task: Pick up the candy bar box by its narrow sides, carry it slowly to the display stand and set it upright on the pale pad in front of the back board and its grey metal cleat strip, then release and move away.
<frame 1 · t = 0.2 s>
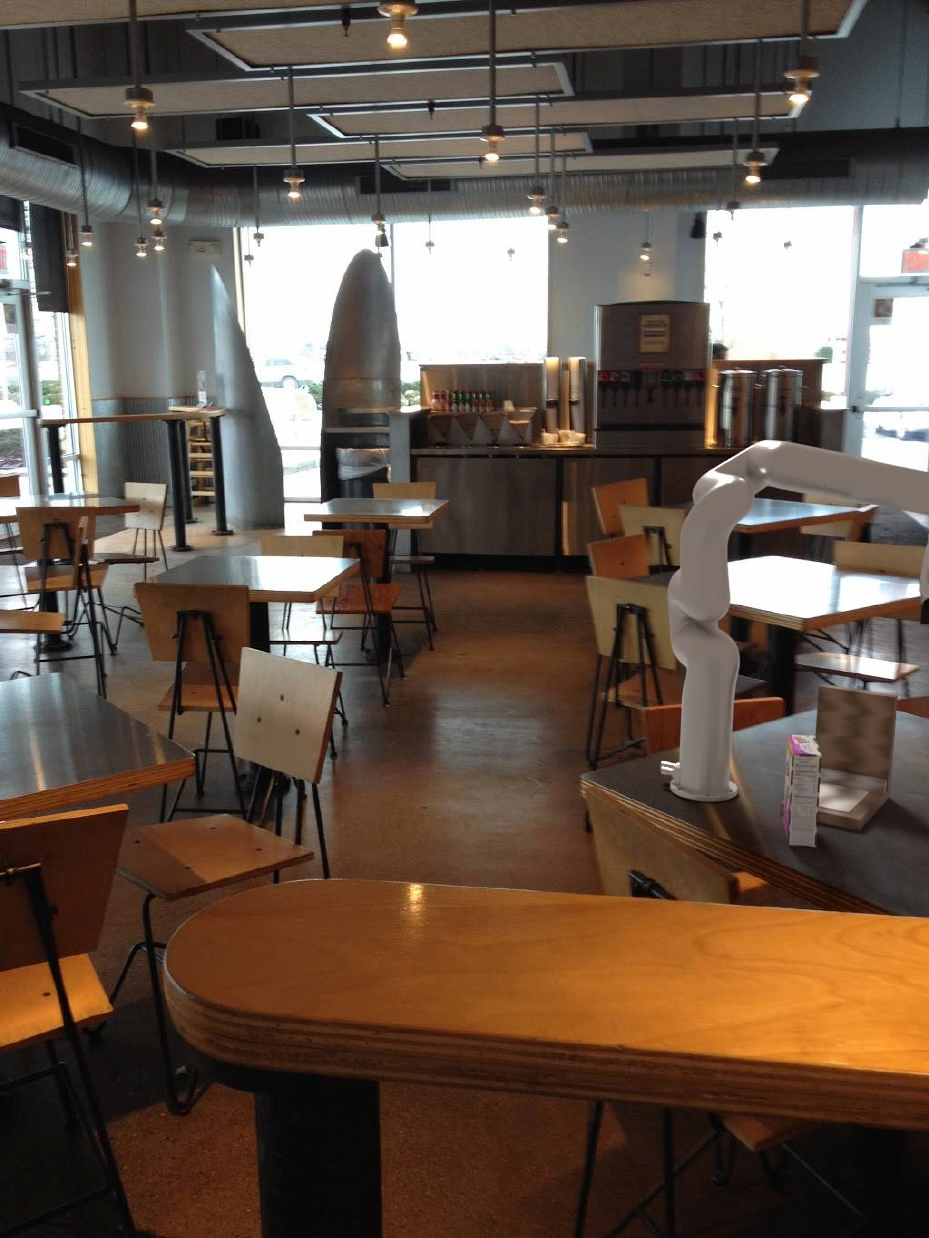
display stand: (835, 805, 204), on the table
candy bar box: (798, 836, 190), on the table
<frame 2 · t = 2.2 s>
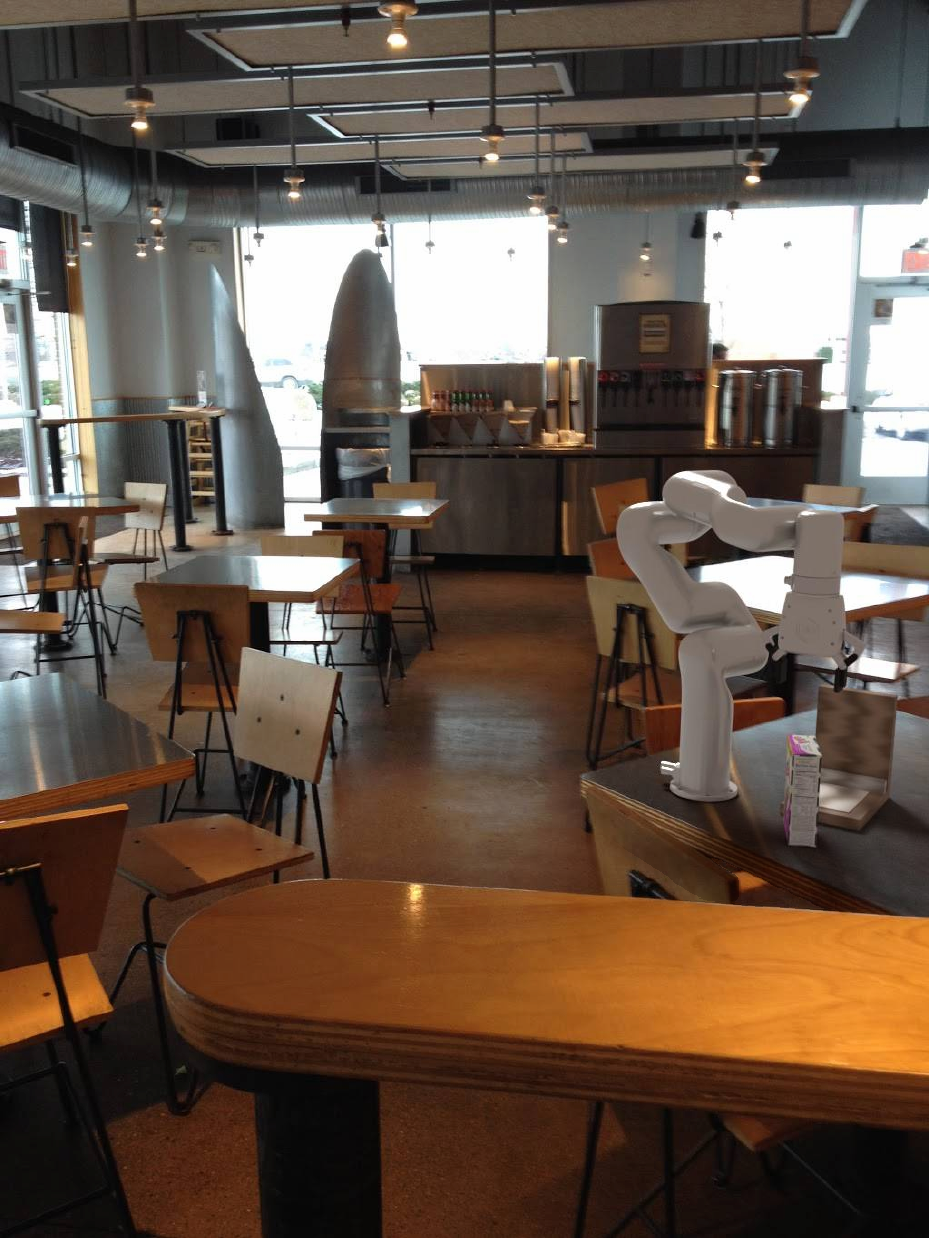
hand: (809, 686, 185), 26 cm above the table, tool pointing down, fingers open, 9 cm apart
nothing on the table moved.
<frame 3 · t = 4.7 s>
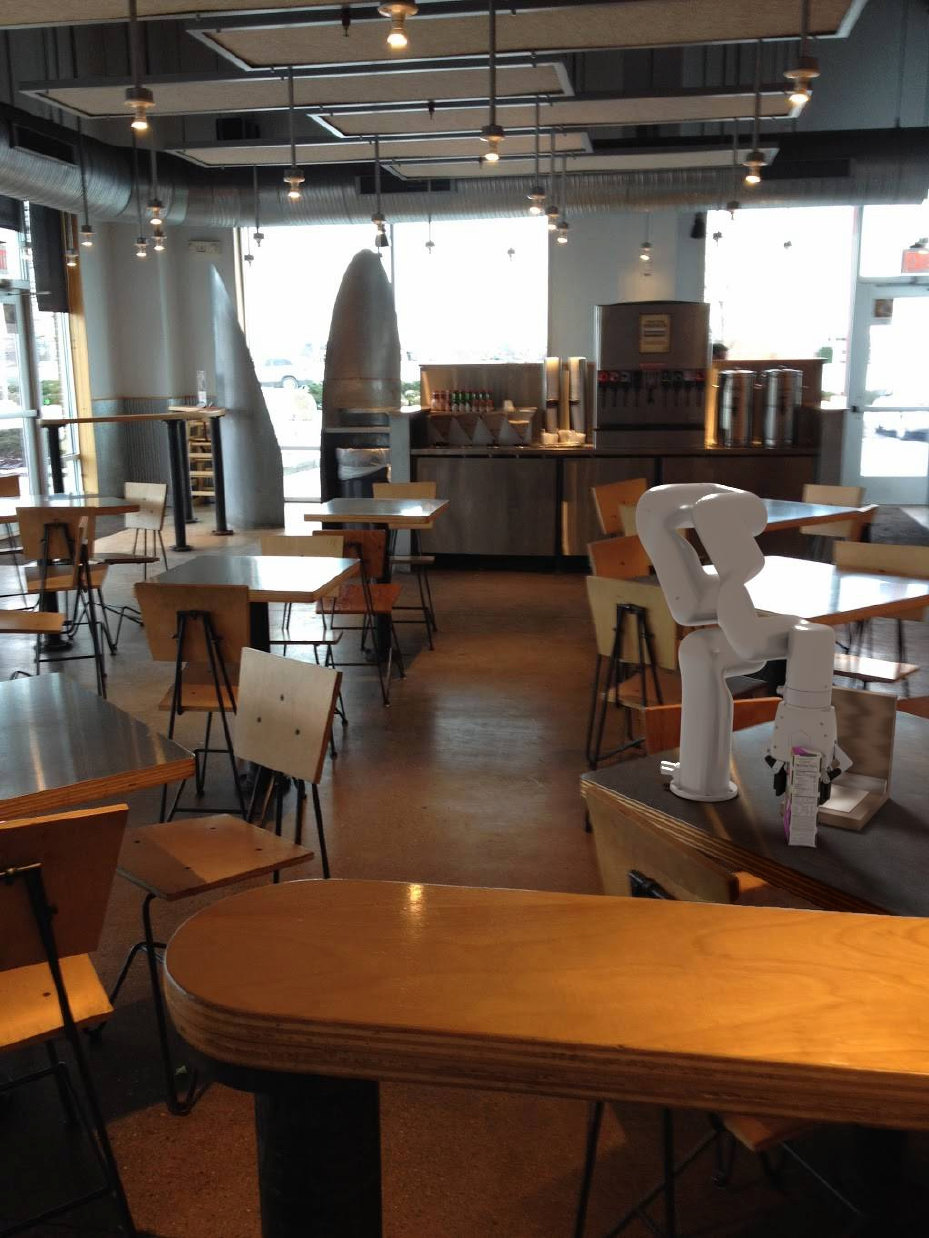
hand: (801, 797, 189), 7 cm above the table, tool pointing down, fingers closed on candy bar box, 6 cm apart
candy bar box: (798, 836, 190), on the table, touching gripper
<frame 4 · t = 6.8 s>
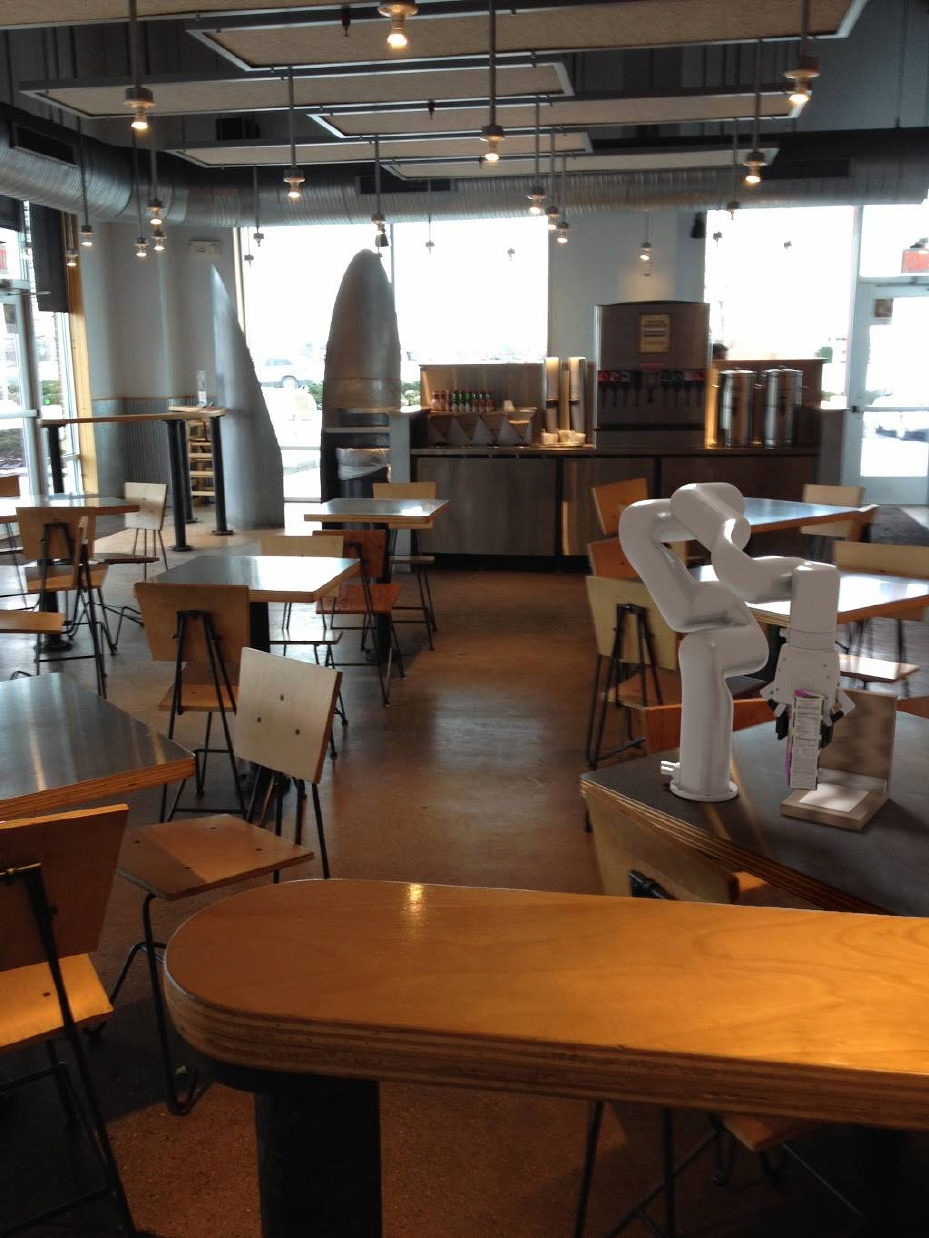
hand: (803, 741, 187), 17 cm above the table, tool pointing down, fingers closed on candy bar box, 6 cm apart
candy bar box: (799, 780, 189), point 10 cm above the table, touching gripper
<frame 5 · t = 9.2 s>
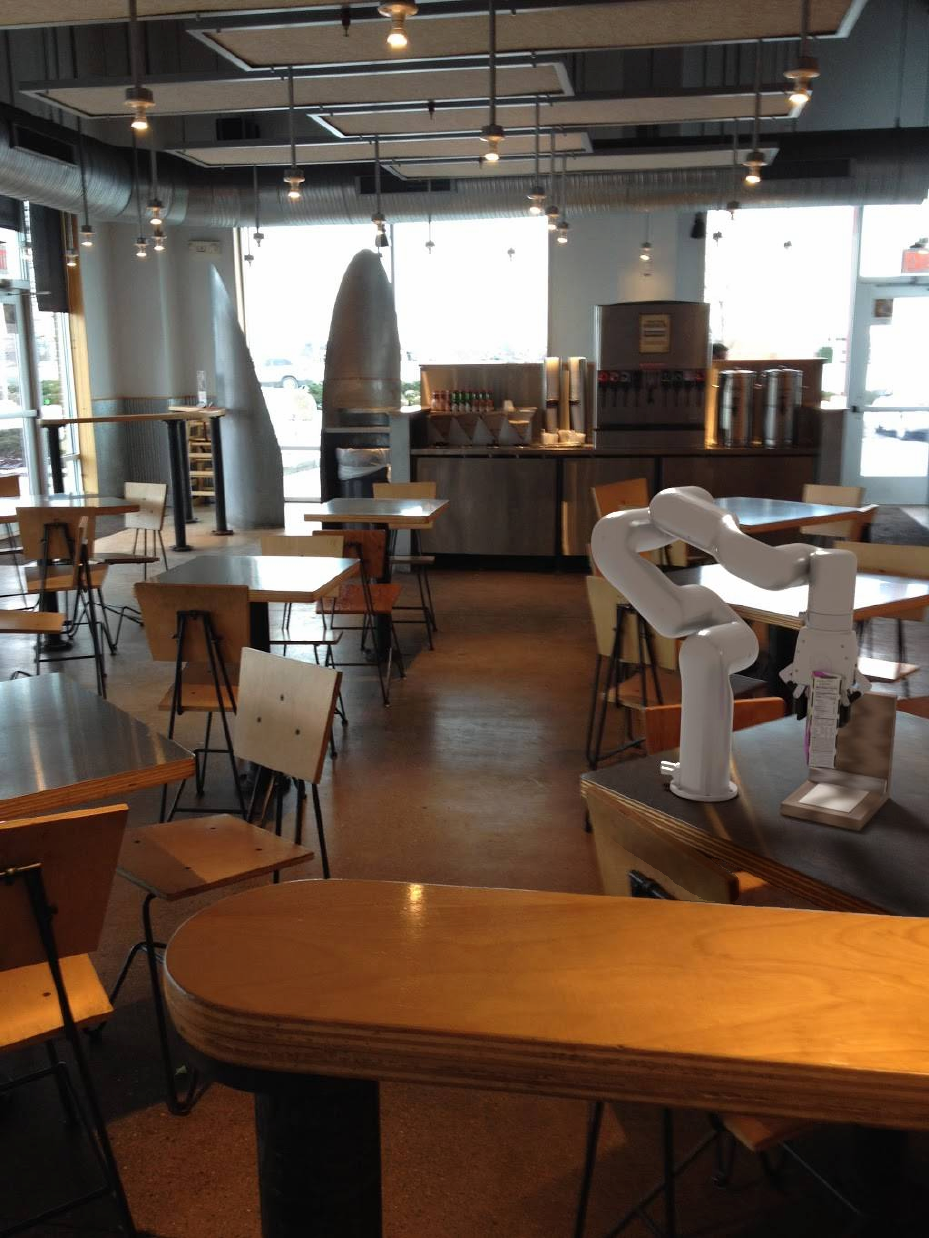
hand: (821, 721, 193), 18 cm above the table, tool pointing down, fingers closed on candy bar box, 6 cm apart
candy bar box: (818, 759, 194), point 11 cm above the table, touching gripper
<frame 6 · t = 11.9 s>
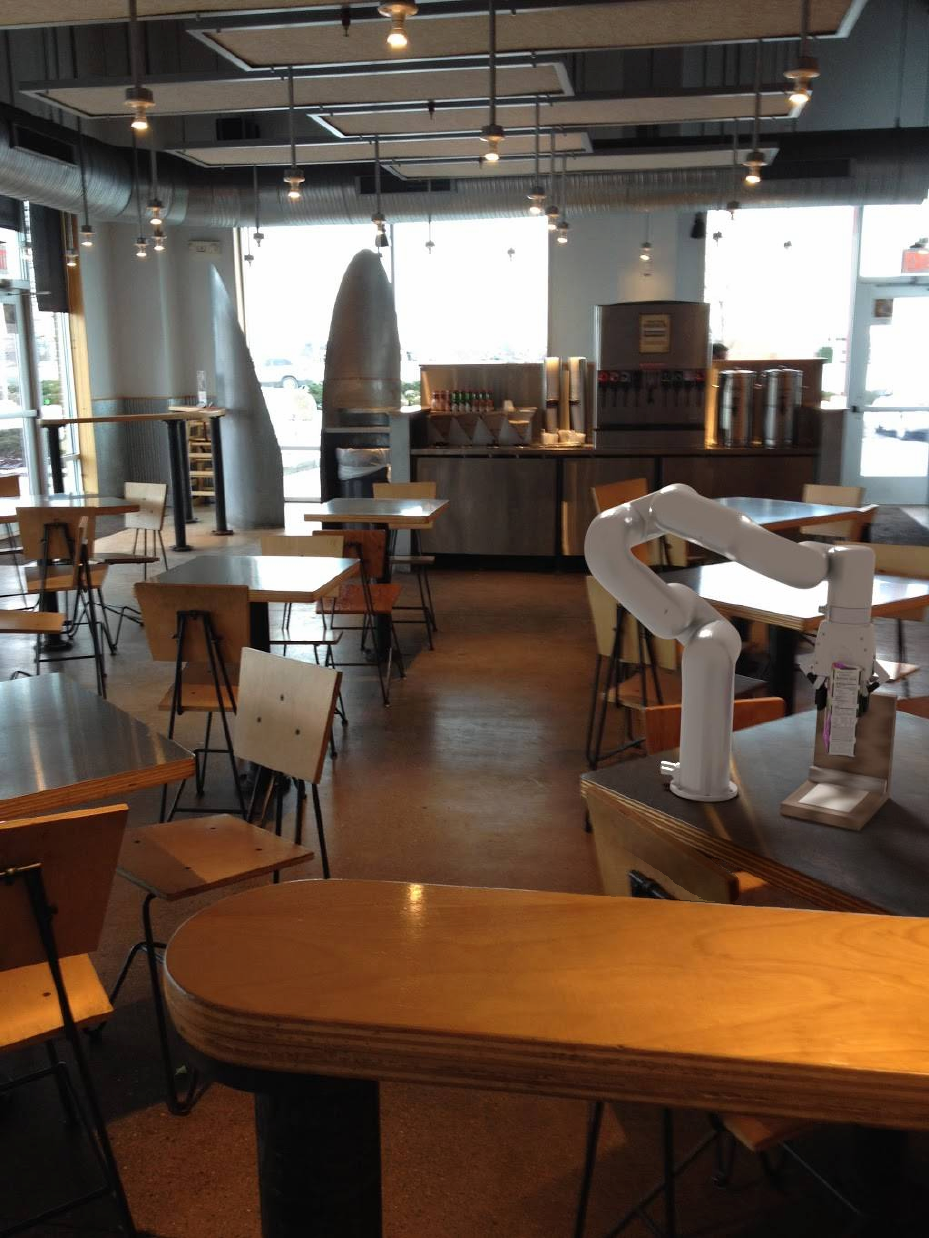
hand: (840, 711, 200), 18 cm above the table, tool pointing down, fingers closed on candy bar box, 6 cm apart
candy bar box: (837, 748, 201), point 11 cm above the table, touching gripper
when the fingers open (10 cm above the table, at t = 14.0 s): candy bar box drops 1 cm, resting on display stand.
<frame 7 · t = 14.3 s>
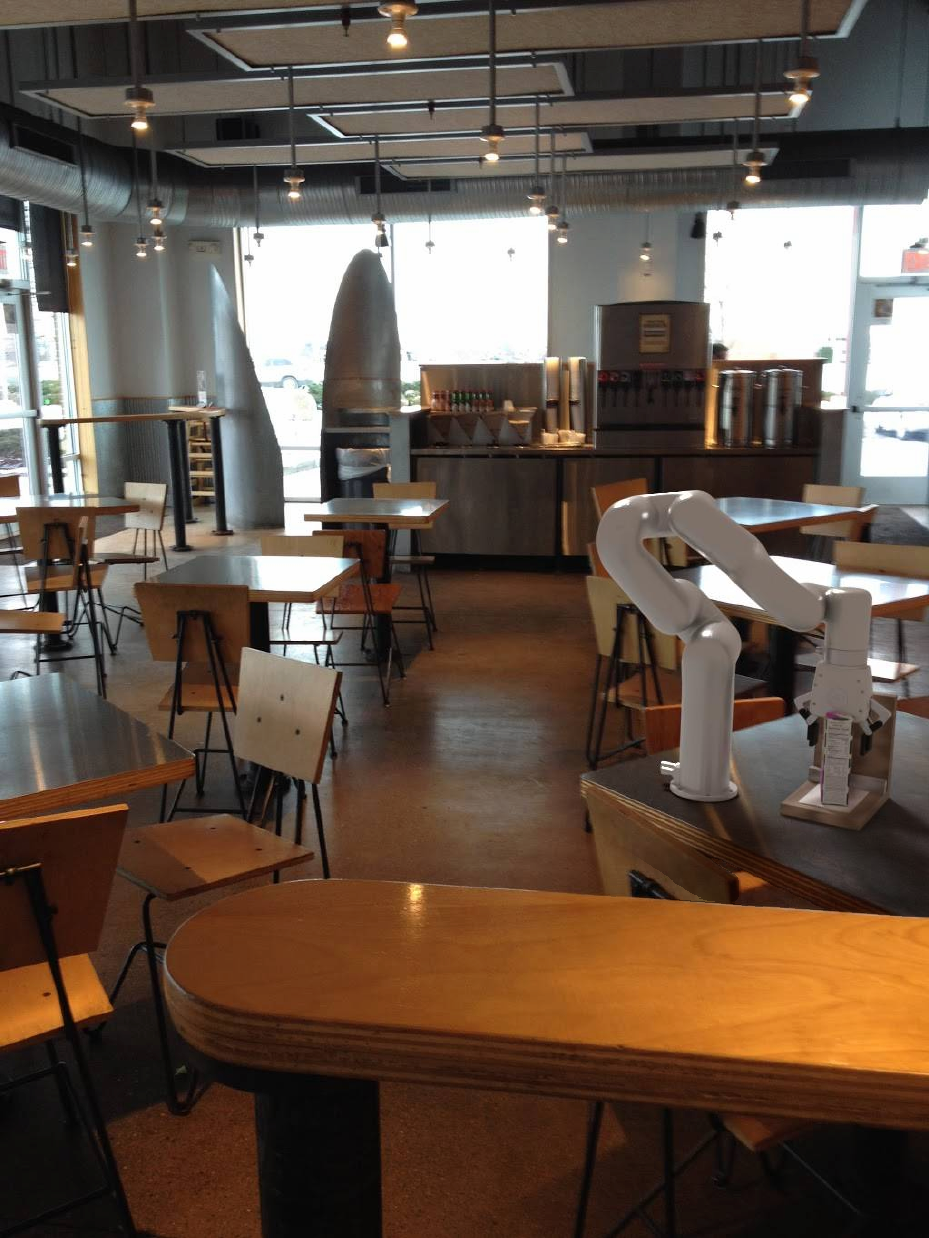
hand: (838, 749, 201), 11 cm above the table, tool pointing down, fingers open, 8 cm apart
candy bar box: (833, 796, 203), point 2 cm above the table, touching display stand
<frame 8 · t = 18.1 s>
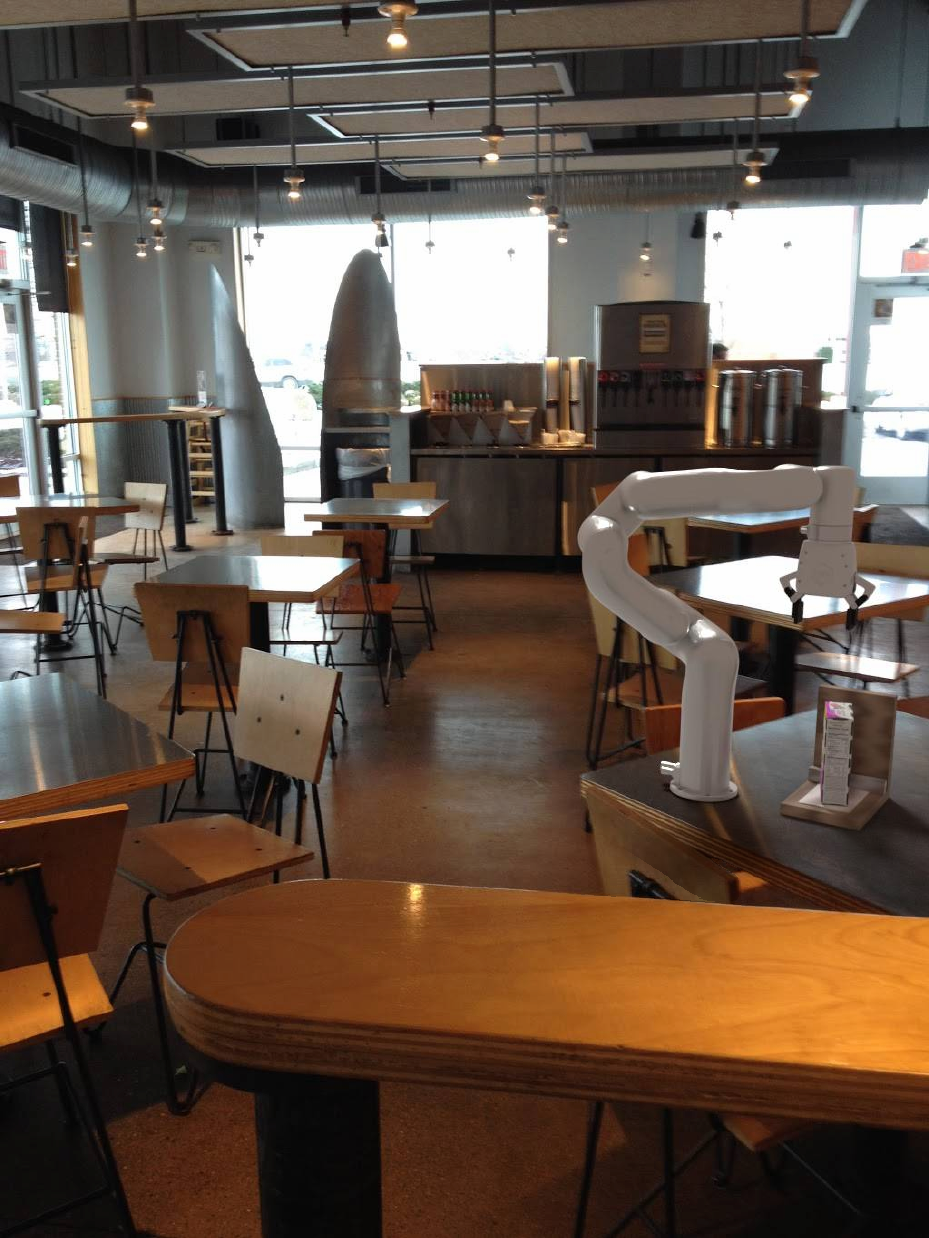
hand: (823, 625, 205), 32 cm above the table, tool pointing down, fingers open, 9 cm apart
nothing on the table moved.
at the end: candy bar box 0.3 cm from the target spot on the display stand, point 2.0 cm above the display stand's base; candy bar box tilted 0°; the gripper is holding nothing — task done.
